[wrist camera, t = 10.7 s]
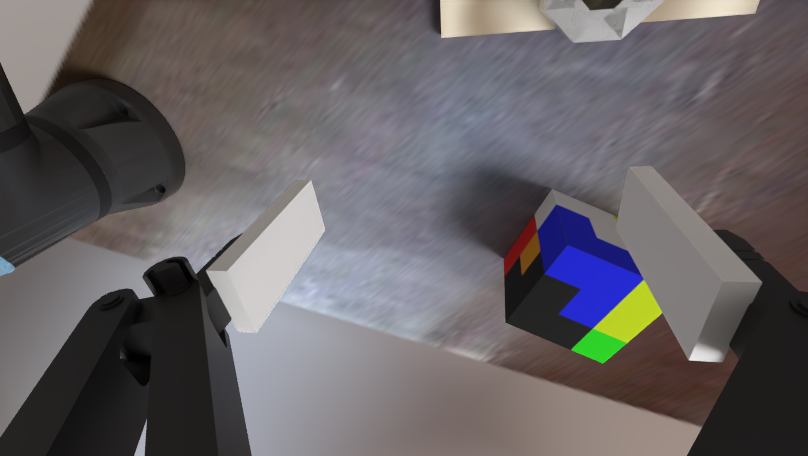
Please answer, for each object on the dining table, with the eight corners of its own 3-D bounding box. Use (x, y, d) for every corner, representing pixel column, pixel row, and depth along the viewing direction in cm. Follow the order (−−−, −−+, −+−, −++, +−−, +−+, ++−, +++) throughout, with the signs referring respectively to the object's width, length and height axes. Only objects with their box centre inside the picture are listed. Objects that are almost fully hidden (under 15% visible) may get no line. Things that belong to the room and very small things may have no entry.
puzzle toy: (551, 188, 37) (567, 244, 28) (642, 227, 37) (684, 294, 29) (503, 258, 42) (505, 322, 34) (582, 291, 42) (603, 363, 34)
